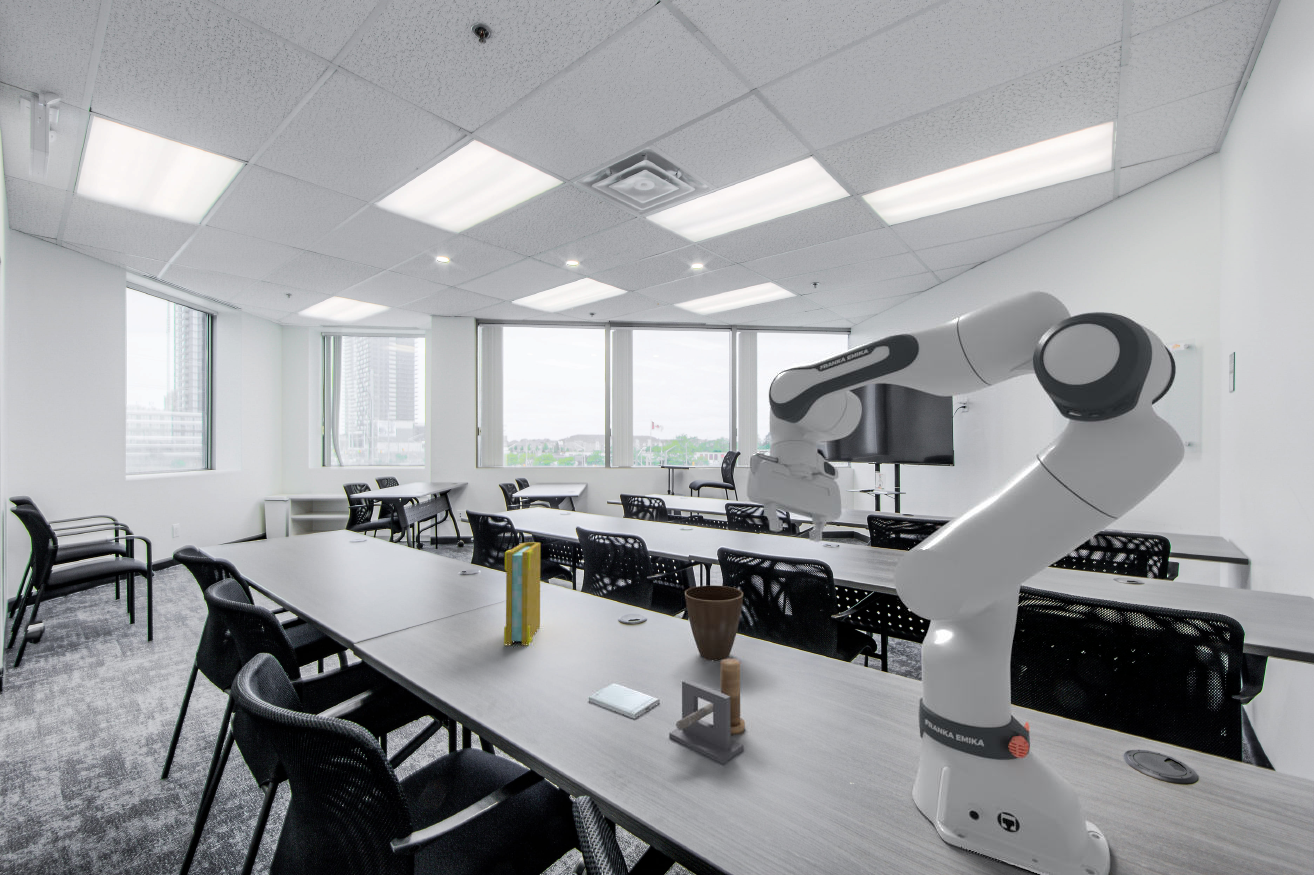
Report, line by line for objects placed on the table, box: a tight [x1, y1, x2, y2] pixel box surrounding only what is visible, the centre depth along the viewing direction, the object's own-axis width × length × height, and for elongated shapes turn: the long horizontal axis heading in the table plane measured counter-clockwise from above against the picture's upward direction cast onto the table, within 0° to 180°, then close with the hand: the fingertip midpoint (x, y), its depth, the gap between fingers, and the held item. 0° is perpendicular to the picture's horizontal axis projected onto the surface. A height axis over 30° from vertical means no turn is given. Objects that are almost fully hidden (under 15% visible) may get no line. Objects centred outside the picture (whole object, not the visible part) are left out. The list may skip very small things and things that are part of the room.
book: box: [503, 541, 541, 646], centre depth 149 cm, size 17×7×25 cm, turn 179°
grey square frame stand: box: [668, 679, 745, 765], centre depth 92 cm, size 12×6×10 cm, turn 46°
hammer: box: [675, 658, 746, 736], centre depth 93 cm, size 5×17×12 cm, turn 136°
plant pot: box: [684, 585, 744, 662], centre depth 133 cm, size 15×15×16 cm
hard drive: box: [588, 682, 661, 720], centre depth 107 cm, size 2×8×12 cm
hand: (796, 535), depth 93 cm, fingers open, 8 cm apart
